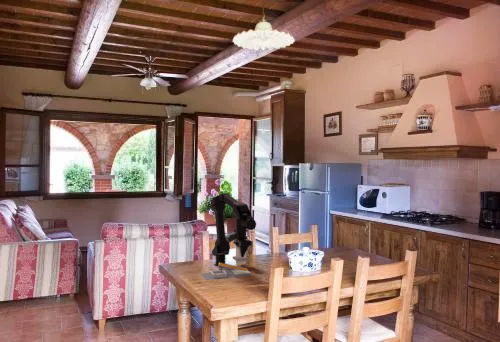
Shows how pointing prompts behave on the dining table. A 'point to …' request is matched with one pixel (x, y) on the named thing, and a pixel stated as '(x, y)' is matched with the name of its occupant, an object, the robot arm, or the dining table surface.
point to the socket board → (225, 274)
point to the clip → (233, 266)
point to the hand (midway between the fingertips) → (240, 256)
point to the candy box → (250, 255)
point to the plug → (238, 257)
